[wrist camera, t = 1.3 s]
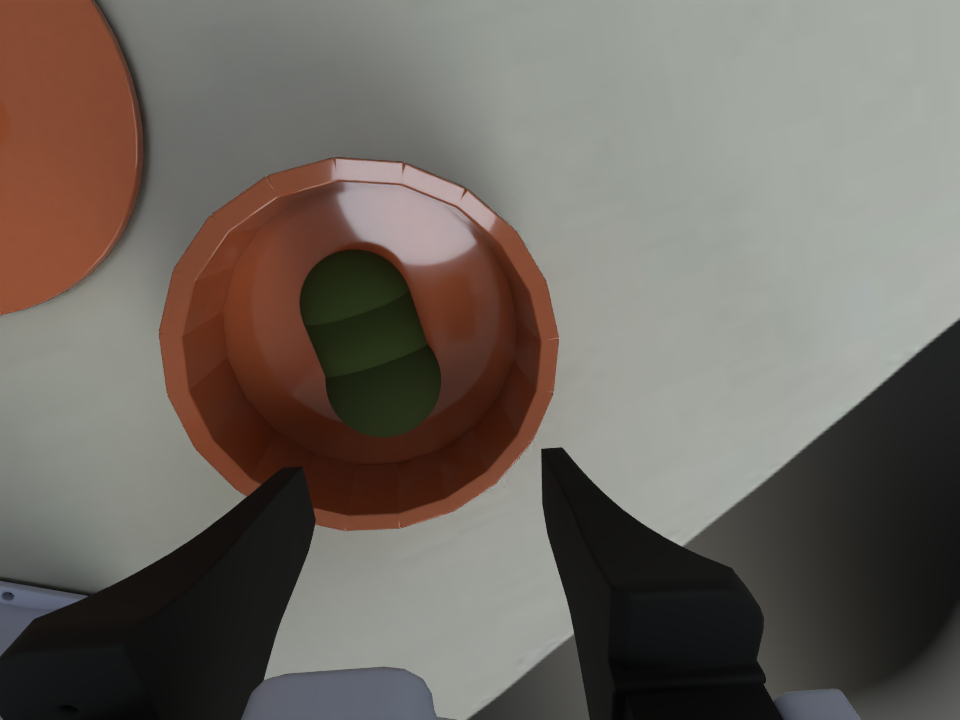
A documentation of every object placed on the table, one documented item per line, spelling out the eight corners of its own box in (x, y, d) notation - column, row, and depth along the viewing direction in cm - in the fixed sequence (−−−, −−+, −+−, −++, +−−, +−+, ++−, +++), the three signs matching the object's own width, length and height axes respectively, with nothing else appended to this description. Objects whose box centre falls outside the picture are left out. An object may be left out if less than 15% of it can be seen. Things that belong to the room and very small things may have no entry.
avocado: (450, 392, 25) (460, 436, 21) (355, 423, 25) (343, 474, 20) (397, 230, 23) (395, 238, 18) (289, 262, 22) (259, 279, 18)
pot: (176, 429, 24) (123, 482, 20) (255, 109, 21) (214, 82, 16) (467, 502, 28) (480, 561, 23) (576, 240, 24) (617, 249, 20)
